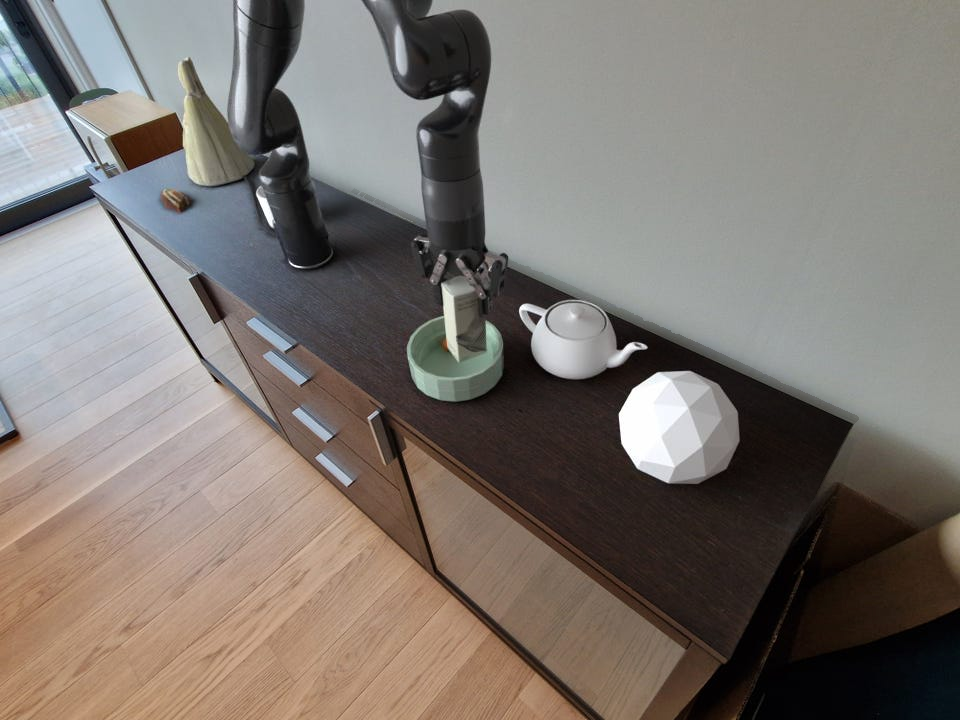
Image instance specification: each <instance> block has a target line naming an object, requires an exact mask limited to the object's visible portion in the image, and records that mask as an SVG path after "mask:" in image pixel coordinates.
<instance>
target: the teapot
mask: <svg viewBox="0 0 960 720" xmlns="http://www.w3.org/2000/svg"><path fill="white" fill-rule="evenodd" d="M518 312H519V316H520V318H521V320H522V322H523V324H524V325H525V327H526V328H527V329H528V330H529V331H530V332H531V333H532V335H531V342H530V347H531V353H532V356H533V358H534V360H535V361H536V363H537V364H538V365H539V366H540V367H541V368H542V369H544V370H545V371H546V372H548V373H550V374H552V375H553V376H556V377H558V378H561V379H562V378H563V379H567V380H585V379H589V378H593V377H595V376H598V375H599V374H601V373H602V372H604V371H605V370H607V369H613V368H618V367H620V366H622V365H623V364H625V362H626V361H627V360H628V359H629V358H630V356H631V355H632V354H633V353H634V352H636V351H640V350H641V351H642V350H647V349H648V348H649V347H648V346H647V344H644V343H642V342H638V341H632V342H629V343H628V344H626V345H625V346H624V348H623V349H617V347H618V345H617V337H616V332H615V330H614V328H613V325H612V323H611V320H610V319H609V317H608V315H607V313H606V311H604V309H602V308H601V307H600V306H599V305H597V304H594V303H592V302H590V301H586V300H580V299H565V300H562V301H558V302H556V303H555V304H553V305H551V306H550V307H548V308H547V309H546V308H544V307H540V306H538V305H535V304H531V303H522V305H520V307H519V310H518ZM528 312H530V313H533V314H536V315H538V316H540V317H541V318H540V319H539V320H538V322H537V324H535V322H534V321H533V320H532V318H531V317H530V316H529V313H528Z"/></svg>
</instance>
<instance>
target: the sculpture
mask: <svg viewBox="0 0 960 720" xmlns="http://www.w3.org/2000/svg"><path fill="white" fill-rule="evenodd" d="M177 75H178V76H177V77H178V79H179V82H180V84H181V86H182V88H183V89H184V90H185V91H186V95H185V97H184V99H183V107H184V113H183V117H182V119H183V120H182V123H181V126H182V128H183V130H182V147H183V149H184V151H185V162H186V169H187V175H188V177H189V180H190V179H191V181H192V182H193V183H194V184H196V185H200V186H205V187H218V186H222V185H226V184H230V183H233V182H237V181H240V180H242V179H244V178H243V176H244V175H246V176H247V175H249V173H250V172H251V171H252V170H253V169H254V168H255V161H254V160H253V158H252V157H251V155H250V154H247V153H246V152H244V151H243V150H242V149H240V147H239V146H238V145H237V144H236V142H235V140H234V138H233V136H232V134H231V131H230V128H229V124H228V120H227V119H226V117H225V116H224V115H223V114H222V112H221V111H220V110H219V109H218V108H217V106H216V105H215V103H214V102H213V101H212V100H211V98H210V96H209V95H208V94H207V92H206V91H205V88H204V86H203V84H202V82H201V80H200V78H199V74H198V73H197V70H196V67H195V65H194V62H193V61H192V59H191V57H190V56H187V55H186V57H185V58H184V59H182V60H180V61H179V63H178V64H177Z"/></svg>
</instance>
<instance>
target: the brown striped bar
mask: <svg viewBox="0 0 960 720" xmlns="http://www.w3.org/2000/svg"><path fill="white" fill-rule="evenodd" d="M160 198H161V201H162V203H163V204H164V205H165V207H166V208H167V209H169V210H172V211H175V212H178V213H182V212H184V211H185V210H186V209H189V207H190V204H191V199H190V198H189V197H187V196H186V195H184V194H182V193H181V192H180V191H177V190H176V189H168V188H164V189H163V191H162V193H161V195H160Z"/></svg>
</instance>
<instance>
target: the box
mask: <svg viewBox="0 0 960 720" xmlns="http://www.w3.org/2000/svg"><path fill="white" fill-rule="evenodd" d="M441 289H442V299H443V306H442V308H443V316H444V318H445V329H446V338H447V347H448V349H449V350H450V351H451V353H452V354H453V356H454V357H455V358H456V360H457V361H458V362H463V361H466V360H468V359H471V358H474V357H476V356H479V355H481V354H484V353H486V352H487V347H486V321H487V320H486V316H485V317H484V318H482V317H479V314H478V300H477V298H478V294H477V293H476V291H475V289H474V287H473V286H470V285H469V283H468V281H467V280H466V278H465V277H464V276H461V275H458V276H454V277H453V278H449V279H447V280H446V281H443V282H441ZM485 320H486V321H485Z"/></svg>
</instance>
